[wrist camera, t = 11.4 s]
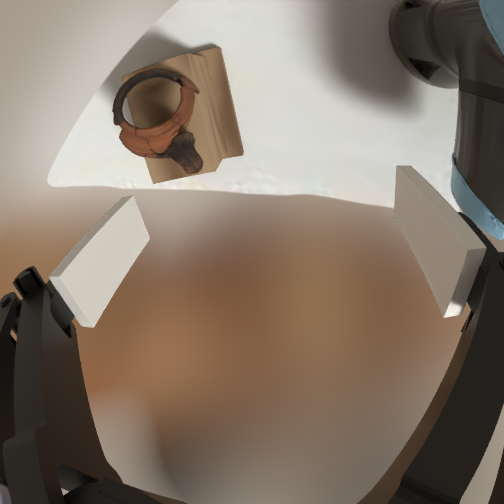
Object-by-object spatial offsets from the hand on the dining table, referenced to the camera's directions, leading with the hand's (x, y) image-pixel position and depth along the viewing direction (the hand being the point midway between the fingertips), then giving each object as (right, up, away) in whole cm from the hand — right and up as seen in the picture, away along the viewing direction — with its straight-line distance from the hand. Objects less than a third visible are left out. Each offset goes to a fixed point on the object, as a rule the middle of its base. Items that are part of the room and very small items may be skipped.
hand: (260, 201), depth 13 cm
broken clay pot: (-9, +12, +15) cm, 21 cm away
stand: (-9, +18, +23) cm, 30 cm away
